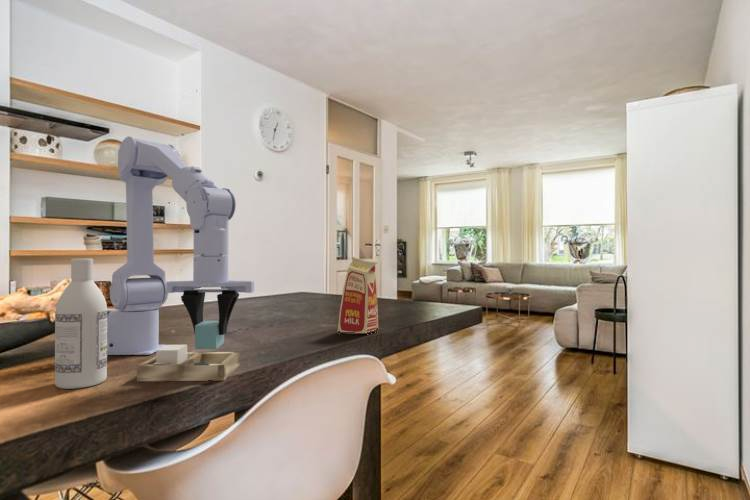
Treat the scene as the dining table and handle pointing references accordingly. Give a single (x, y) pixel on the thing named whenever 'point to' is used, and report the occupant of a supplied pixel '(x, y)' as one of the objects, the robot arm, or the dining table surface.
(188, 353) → the slot rack
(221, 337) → the teal rectangular block
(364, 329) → the milk carton
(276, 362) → the dining table surface
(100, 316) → the bath foam
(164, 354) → the off-white plug
